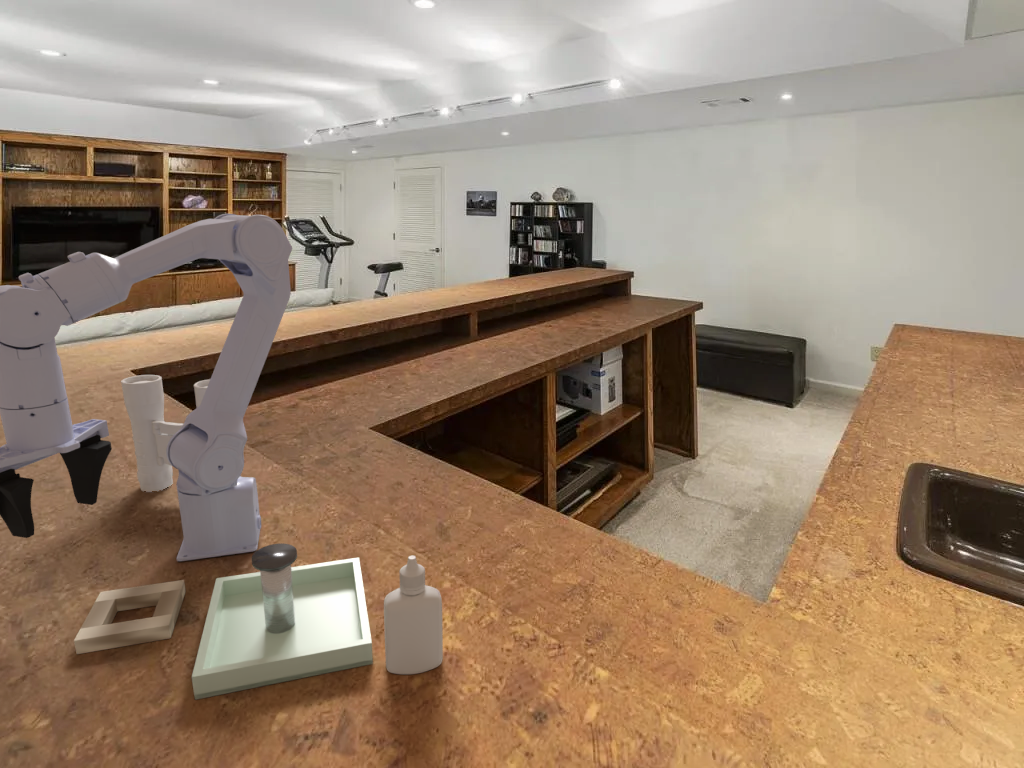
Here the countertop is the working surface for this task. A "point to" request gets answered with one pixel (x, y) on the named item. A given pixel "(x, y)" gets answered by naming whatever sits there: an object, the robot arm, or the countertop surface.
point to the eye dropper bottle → (413, 623)
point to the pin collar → (106, 635)
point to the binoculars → (152, 428)
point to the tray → (292, 654)
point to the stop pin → (276, 585)
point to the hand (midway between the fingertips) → (56, 518)
